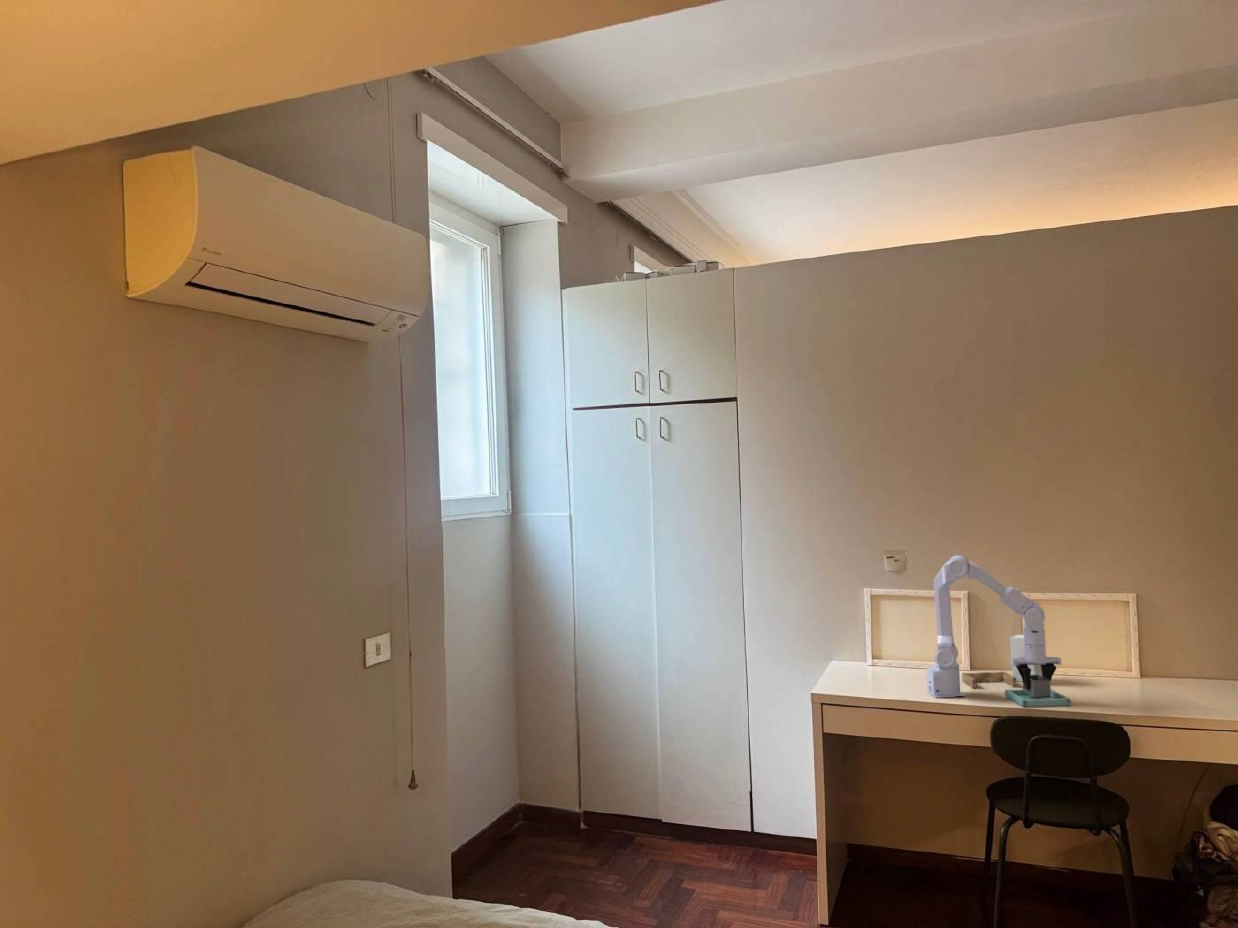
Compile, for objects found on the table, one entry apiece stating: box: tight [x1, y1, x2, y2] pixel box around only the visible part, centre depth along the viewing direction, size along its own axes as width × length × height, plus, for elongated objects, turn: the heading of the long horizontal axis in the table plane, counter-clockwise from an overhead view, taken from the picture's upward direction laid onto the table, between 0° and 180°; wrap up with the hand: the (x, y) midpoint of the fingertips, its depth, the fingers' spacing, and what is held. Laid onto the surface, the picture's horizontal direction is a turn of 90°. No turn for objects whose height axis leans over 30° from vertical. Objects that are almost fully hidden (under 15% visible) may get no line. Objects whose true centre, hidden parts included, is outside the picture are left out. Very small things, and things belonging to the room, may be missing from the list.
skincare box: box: [1009, 634, 1042, 683], centre depth 275 cm, size 8×6×15 cm
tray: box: [1004, 688, 1072, 708], centre depth 253 cm, size 14×12×2 cm
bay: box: [961, 671, 1017, 689], centre depth 273 cm, size 14×8×3 cm, turn 89°
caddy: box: [1022, 675, 1051, 698], centre depth 253 cm, size 5×7×5 cm
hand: (1036, 688), depth 253 cm, fingers closed on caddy, 5 cm apart
